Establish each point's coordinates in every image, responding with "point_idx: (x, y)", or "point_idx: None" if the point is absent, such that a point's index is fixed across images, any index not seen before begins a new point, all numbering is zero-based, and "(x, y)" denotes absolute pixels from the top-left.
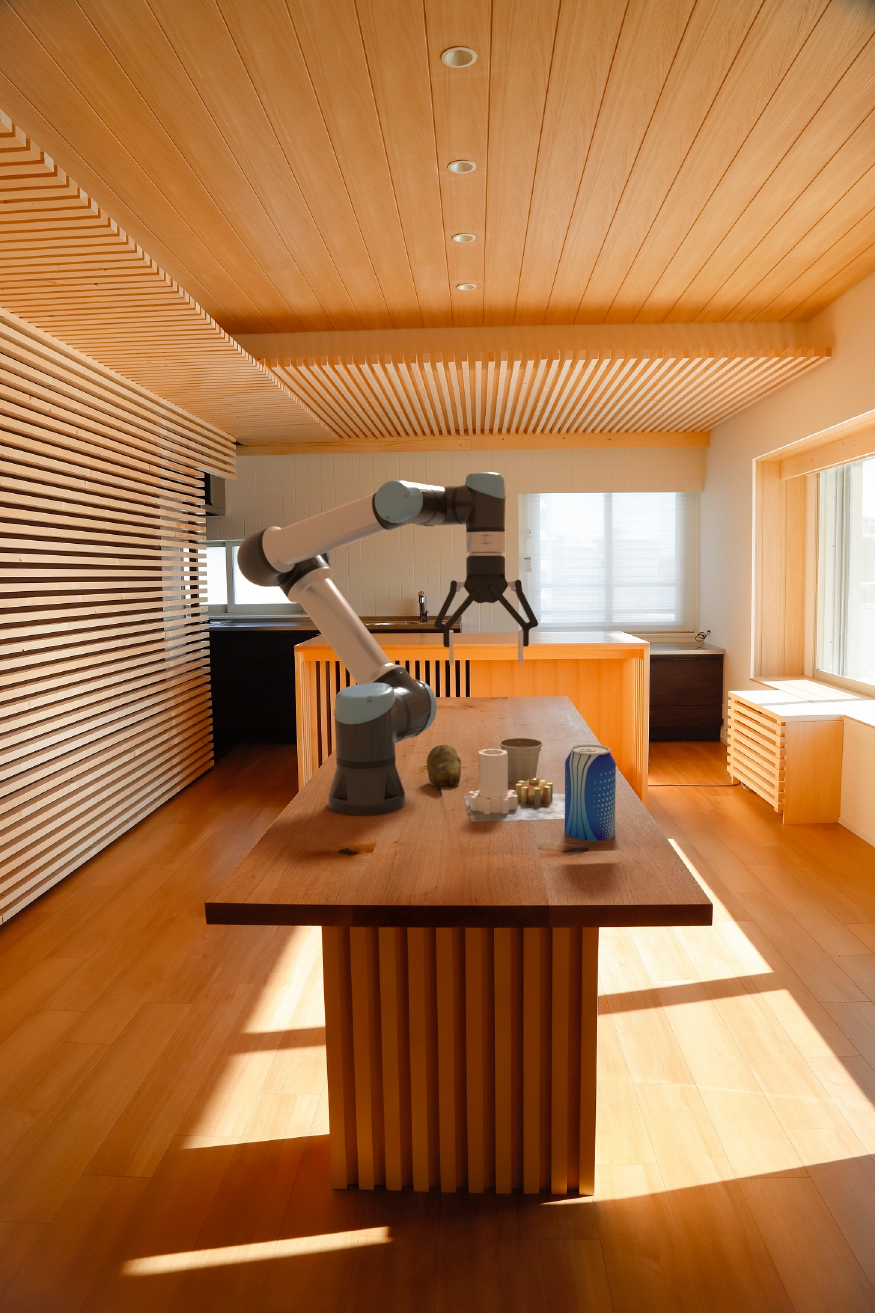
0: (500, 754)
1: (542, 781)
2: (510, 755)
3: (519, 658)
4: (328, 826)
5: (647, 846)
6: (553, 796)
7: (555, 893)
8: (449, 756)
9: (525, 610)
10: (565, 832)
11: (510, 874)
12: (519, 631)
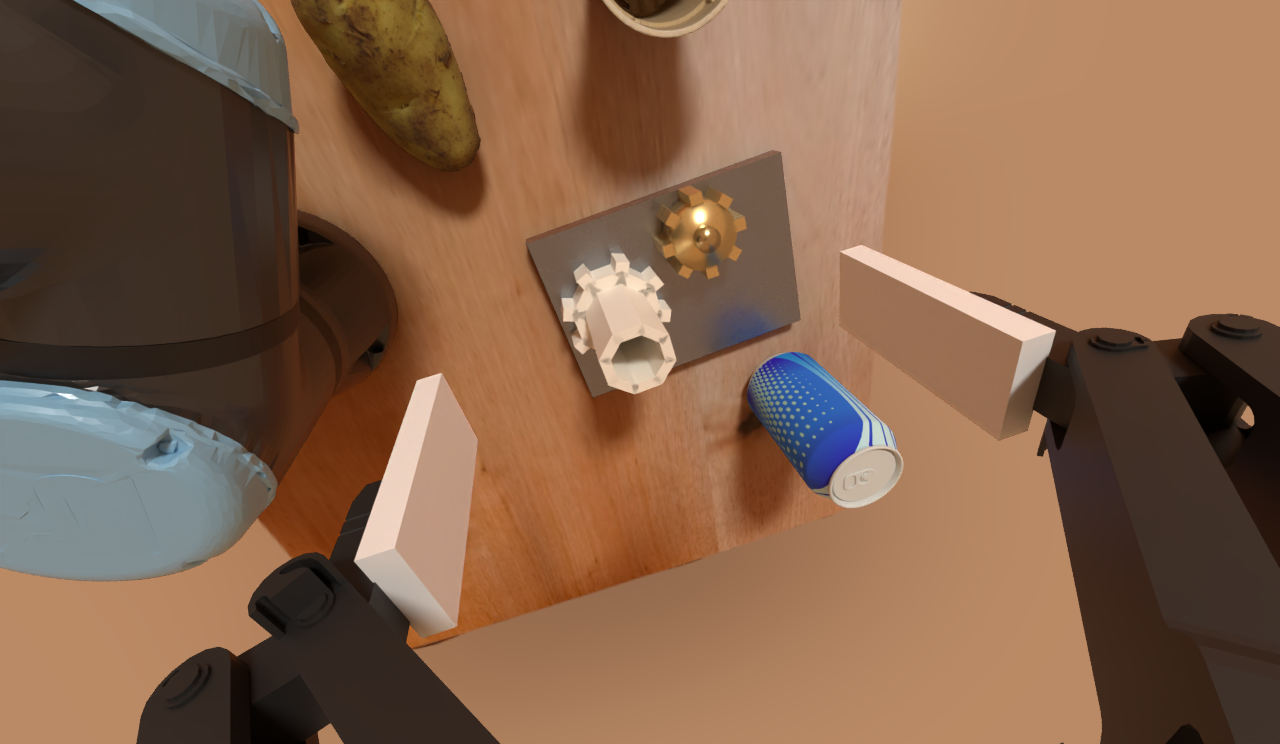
0: (660, 376)
1: (723, 210)
2: (627, 15)
3: (859, 339)
4: (314, 445)
5: (853, 377)
6: (735, 197)
7: (725, 531)
8: (411, 72)
9: (1273, 557)
10: (749, 403)
11: (674, 508)
12: (995, 436)
